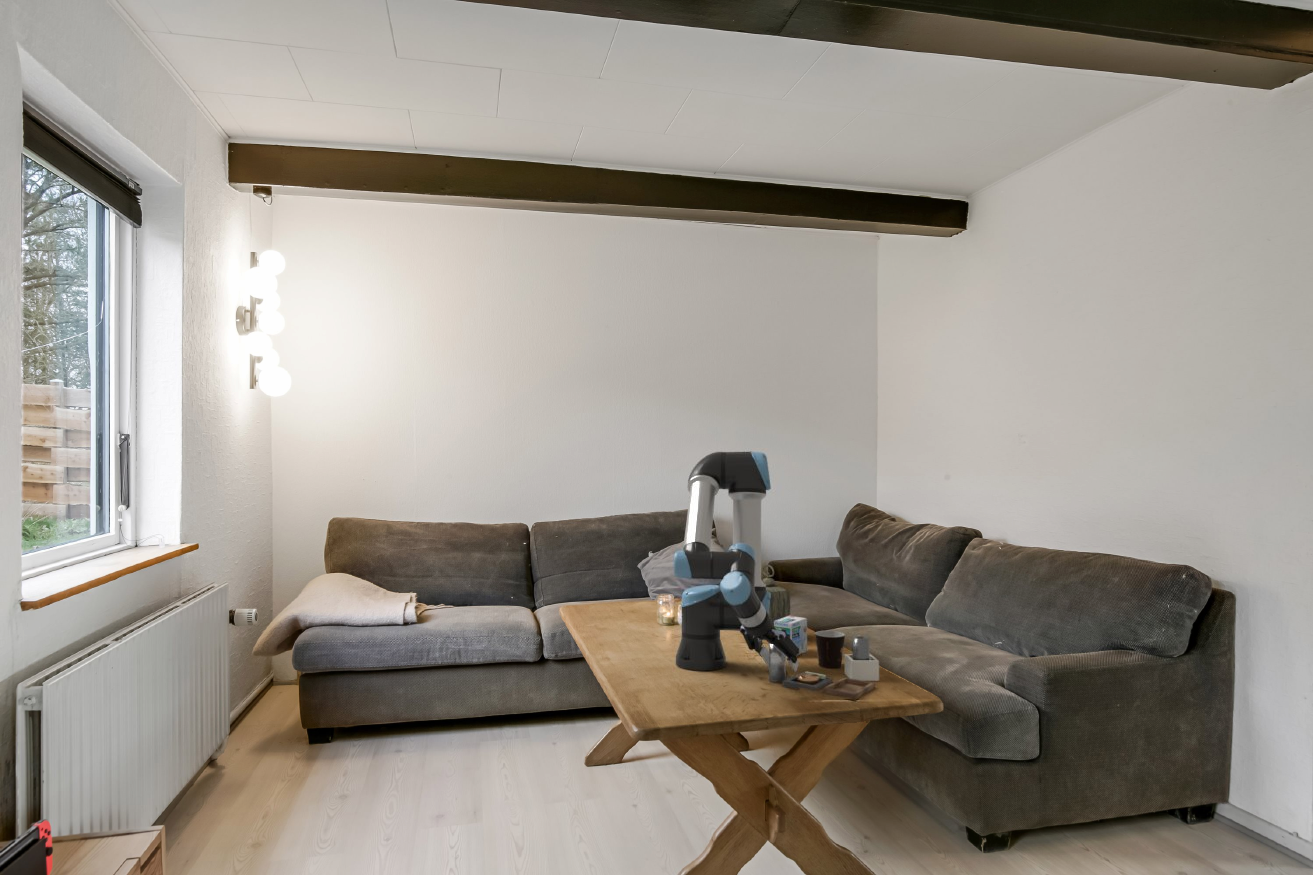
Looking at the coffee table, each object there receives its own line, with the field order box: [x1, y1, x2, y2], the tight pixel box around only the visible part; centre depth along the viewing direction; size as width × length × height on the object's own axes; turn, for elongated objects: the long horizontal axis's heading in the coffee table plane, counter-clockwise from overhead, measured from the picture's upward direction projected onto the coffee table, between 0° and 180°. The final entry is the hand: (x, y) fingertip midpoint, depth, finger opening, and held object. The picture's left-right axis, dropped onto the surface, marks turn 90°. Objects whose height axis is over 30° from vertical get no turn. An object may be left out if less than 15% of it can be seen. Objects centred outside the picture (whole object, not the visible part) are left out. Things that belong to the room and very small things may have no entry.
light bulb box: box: [774, 615, 808, 656], centre depth 254 cm, size 11×7×11 cm, turn 143°
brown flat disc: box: [796, 672, 819, 684], centre depth 218 cm, size 6×6×1 cm
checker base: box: [782, 671, 834, 692], centre depth 218 cm, size 10×10×2 cm
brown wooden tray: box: [822, 677, 876, 702], centre depth 212 cm, size 13×9×2 cm
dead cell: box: [851, 634, 870, 660], centre depth 225 cm, size 5×5×12 cm
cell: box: [768, 642, 787, 684], centre depth 223 cm, size 5×5×12 cm
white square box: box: [843, 653, 880, 682], centre depth 224 cm, size 8×8×6 cm
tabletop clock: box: [761, 564, 791, 627], centre depth 276 cm, size 14×9×25 cm, turn 25°
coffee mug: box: [814, 630, 846, 670], centre depth 235 cm, size 12×9×10 cm
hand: (783, 664), depth 226 cm, fingers open, 8 cm apart
